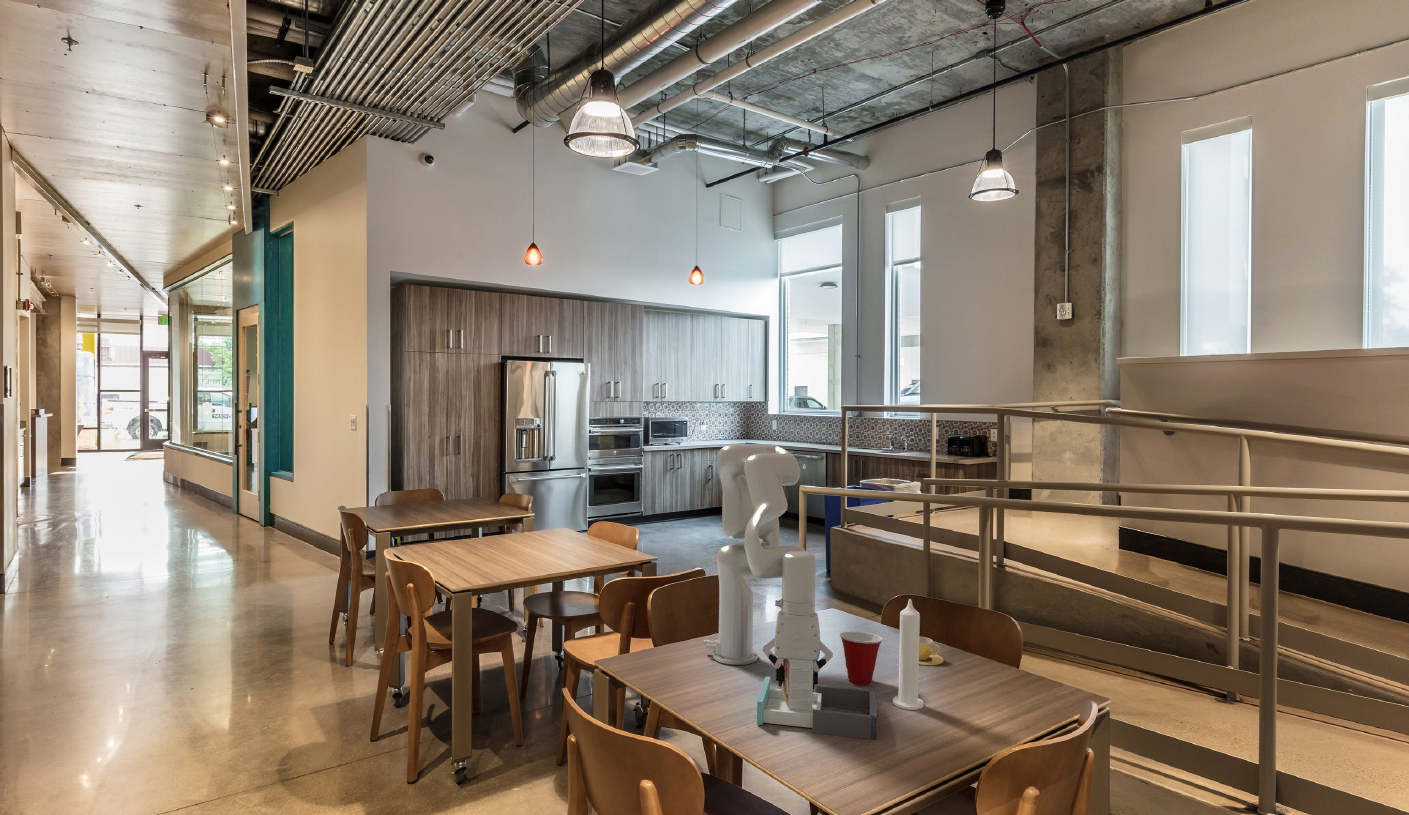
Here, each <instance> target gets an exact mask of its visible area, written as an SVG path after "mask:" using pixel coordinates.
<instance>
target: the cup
mask: <svg viewBox="0 0 1409 815" xmlns="http://www.w3.org/2000/svg"><path fill="white" fill-rule="evenodd" d="M933 648H936V651H933ZM940 650H941V647H940V645H938V644H937V643H934V640H933V639H932V638H929V637H926V636H919V665H920V666H921V665H922V666H936V665H940V664H943V663H944V658H943V657H942V656H940V655H939V654H940V653H939V652H940ZM928 658H931V661H926V660H928Z"/></svg>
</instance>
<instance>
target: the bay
mask: <svg viewBox="0 0 1409 815" xmlns="http://www.w3.org/2000/svg"><path fill="white" fill-rule="evenodd" d="M815 693H822V701H821V707H829V708H830V707H831V708H840V709H848V710H849V709H850V710H858V711H859V710H860V711H861V710H862V711H868V714H863V713H853V712H844V711H843V712H842V711H832V710H831V711H830V710H822V709H821V710H815V709H813V728H811V729H812V730H811V731H812V734H813V733H814V734H821V735H822V734H823V735H832V736H841V737H849V738H850V737H852V738H859V739H860V738H861V739H870V740H877V728H878V727H877V725H878V724H877V722H878V720H877V719H878V718H877V717H878V716H877V704H876V690H875V689H873V688H871V689H870V688H869V689H868V688H860V687H851V686H838V685H829V684H819V683H818V685H816V684H815Z"/></svg>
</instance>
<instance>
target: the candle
mask: <svg viewBox="0 0 1409 815" xmlns="http://www.w3.org/2000/svg"><path fill="white" fill-rule="evenodd" d="M920 614H921V613H920V612H918V610H916V609H915V608H914V605H913V601H912V599H911V598H909V599H908V602H907V605H906V607H905V608H903V609H902V610H900V612H899V648H898V649H899V650H898V652H899V653H898V695H895V696H893V698H892V704H893V705H894V706H896V707H897V708H899V709H903V710H908V711H909V710H910V711H918V710H921V709H922V708H924V701H923V700H922V699H921V698H919V677H920V676H919V674H920V673H919V672H920V670H919V668H920V666H919V661H920V660H919V637H920V627H921V626H920V624H921V623H920V622H921V621H920V620H921V615H920Z"/></svg>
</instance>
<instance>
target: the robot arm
mask: <svg viewBox="0 0 1409 815" xmlns="http://www.w3.org/2000/svg"><path fill="white" fill-rule="evenodd" d="M716 466H717V473H718V476H719V479H720V483H721V489H722V490H721V491H722V515H721V516H722V531H723V534H724V536H725V537H727V538H728V539H732V540H744V543H742V542H741V543H731V544H726V545H723V546H722V547H720V548H719V549H718V550H717V551H718V552H717V554H716V568H717V573H718V581H719V583H718V584H719V589H718V591H719V596H718V597H719V599H718V600H719V601H718V602H719V605H718V608H719V609H718V639H714V640H711V639H703V641H702V642H703V643H702V645H703V647H705V649H706V650H713V651H712V658H713V659H714V660H715V661H716V662H719V663H721V664H724V665H729V666H730V665H732V666H733V665H734V666H743V665H745V666H746V665H749V664H753V663H755V662H756V661H757V660H758V659H759V655H758V654H759V653H758V652H757V651H756V650H755V649H753V645H754V644H753V640H754V637H753V636H754V635H753V634H754V593H753V590H752V588H750V586H749V585H748V584H747V581H746V580H747V579H756V578H757V579H761V580H765V579H766V580H769V579H780V578H781V581H782V582H781V598H780V599H779V600H775V601H774V602H775V603H774V605H775V607H778V608H779V611H778V613H777V618H776V623H775V629H774V631H775V632H774V638H773V639H771V640H770V641H769V642H768V643H766V644H765V645H764V646H763V647H762V649H761V650H762V652H763V653H764V654H765V656H766V657H767V658H768V660H769V661H770V662H771V663H772V665H773V666H774V668H775V681H776V682H778V687H782V683H783V666H782V662H783V660H784V659H798V660H808V661H813V690H815V689H816V685H818V684H819V671H820V670H821V669H822V668H823V667H824V666H826V665H827V663H828V662H829V661H830V660H831V659H832V658H833V656H834V652H832V650H830V648H829V647H827V646H826V645H825V643H823V642H822V641H821V629H820V621H819V615H818V612H816V571H817V570H816V567H817V564H816V561H817V560H816V557H815V555H814V554H813V553H811V552H808V551H806V549H805V548H803V547H802V546H801V545H795V544H794V545H793V544H790V545H786V544H785V545H780V521H779V520H780V519H779V517H781V516H782V515H783V514H785V513H786V511H787V510H788V502H787V497H786V494H785V490H784V487H783V486H785V487H786V486H794V485H796V484H797V483H798V482H799V479H800V477H801V476H800V475H801V469H800V468H801V467H800V464H799V462H798V459H797V458H796V457H795V456H794V455H793V453H791V452H790V451H788V450H787V449H785V448H784V447H781V446H780V445H777V444H772V443H771V444H769V443H766V444H765V443H759V444H758V443H757V444H756V443H736V444H729V445H728V444H727V445H724V446H723V447H722V448H720V450H719V451H718V454H717V462H716ZM780 609H781V610H780ZM773 648H774V649H773ZM772 649H773V650H774V653H773V651H772ZM821 652H822V653H823V654H824V656H823V657H821V658H820V655H821ZM819 658H820V659H819Z"/></svg>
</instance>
